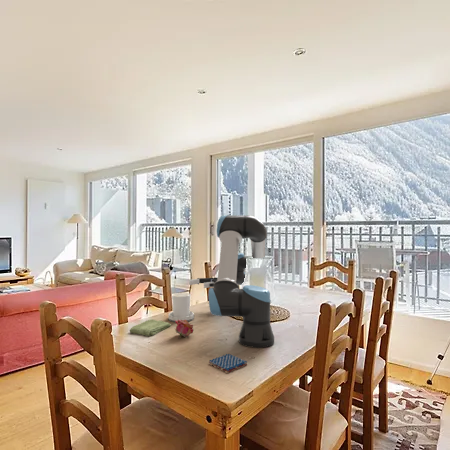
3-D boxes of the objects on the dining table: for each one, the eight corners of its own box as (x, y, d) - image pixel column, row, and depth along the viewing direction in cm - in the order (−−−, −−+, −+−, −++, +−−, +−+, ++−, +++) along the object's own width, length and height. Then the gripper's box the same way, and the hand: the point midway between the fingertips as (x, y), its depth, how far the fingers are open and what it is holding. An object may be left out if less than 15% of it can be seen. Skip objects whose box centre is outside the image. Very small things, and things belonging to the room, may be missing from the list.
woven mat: (228, 357, 126) (228, 352, 126) (248, 366, 118) (248, 360, 118) (206, 365, 119) (207, 359, 119) (227, 375, 111) (227, 369, 111)
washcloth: (172, 326, 163) (172, 320, 163) (150, 338, 147) (150, 330, 147) (150, 323, 168) (150, 317, 168) (127, 334, 152) (127, 327, 152)
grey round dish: (187, 323, 167) (187, 318, 167) (164, 321, 171) (164, 316, 171) (197, 316, 180) (197, 311, 180) (175, 314, 184) (175, 309, 184)
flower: (185, 338, 140) (192, 321, 144) (166, 332, 143) (174, 314, 147) (191, 344, 148) (198, 328, 152) (173, 338, 151) (180, 321, 155)
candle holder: (187, 320, 170) (187, 297, 170) (169, 319, 172) (169, 296, 172) (192, 315, 179) (193, 293, 179) (175, 314, 181) (175, 292, 181)
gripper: (240, 289, 187) (210, 294, 173) (212, 284, 206) (183, 287, 192) (240, 276, 187) (210, 279, 173) (212, 271, 206) (184, 274, 192)
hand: (196, 283), depth 182 cm, fingers open, 13 cm apart
